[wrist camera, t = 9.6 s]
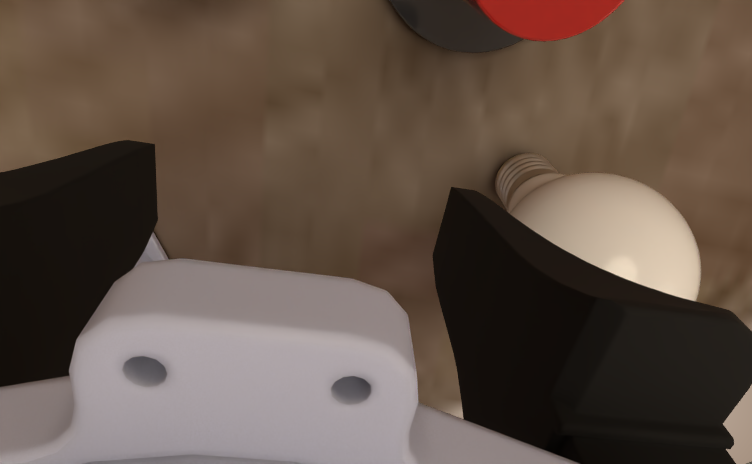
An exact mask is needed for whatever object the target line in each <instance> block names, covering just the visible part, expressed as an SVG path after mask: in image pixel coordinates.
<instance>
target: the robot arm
mask: <svg viewBox="0 0 752 464" xmlns="http://www.w3.org/2000/svg"><path fill="white" fill-rule="evenodd" d="M157 220H158V216H157V190H156V163H155V144H150V143H143V142H136V141H130V140H125V141H118V142H113V143H109V144H105V145H102V146H98V147H95V148H92V149H88V150H85V151H81V152H78V153H75V154H71V155H68V156H65V157H61V158H58V159H54V160H50V161H46V162H42V163H39V164H35V165H31V166H27V167H23V168H19V169H15V170H11V171H6V172H1V173H0V464H736V463H735V462H734V460H733V459H732V458H731V456H730V455H729V453H728V452H727V451H726V449H731V447H732V446H733V445H734V439H733V437H732V436H731V435H730V433H729V432H728V431H727V429H726V428H725V427H724V426H723V422H724V421H725V420H726V418H727V417H728V416H729V414H730V413H731V412H732V410H733V409H734V407H735V406H736V405H737V404H738V402H739V401H740V400H741V398H742V397H743V396H744V395H745V393H746V392H747V391H748V389H749V388H750V386H751V384H752V331H751V330H750V329H749V328H748V327H747V326H746V325H745V324H744V323H743V322H742V321H741V320H740V319H739V318H738V317H737V316H736V315H735V314H734V313H733V312H731V311H729V310H726V309H722V308H719V307H715V306H711V305H707V304H703V303H700V302H696V301H692V300H688V299H684V298H681V297H677V296H674V295H670V294H667V293H664V292H661V291H658V290H655V289H652V288H649V287H646V286H643V285H641V284H638V283H635V282H633V281H630V280H627V279H625V278H622V277H620V276H618V275H615V274H613V273H611V272H608V271H606V270H603V269H601V268H599V267H597V266H595V265H592V264H590V263H588V262H586V261H584V260H582V259H580V258H579V257H577V256H575V255H573V254H571V253H569V252H567V251H565V250H564V249H562V248H560V247H558V246H557V245H555V244H553V243H552V242H550V241H549V240H547V239H546V238H544V237H542V236H541V235H539V234H538V233H536V232H535V231H533V230H532V229H530V228H529V227H527V226H526V225H525V224H523V223H522V222H520V221H519V220H518V219H516V218H515V217H513V216H512V215H511V214H509V213H508V212H507V211H505V210H504V209H503V208H501V207H500V206H498V205H497V204H496V203H494V202H493V201H492V200H490V199H489V198H487V197H486V196H484V195H483V194H481V193H479V192H477V191H475V190H468V189H461V188H454V187H451V190H450V194H449V198H448V201H447V205H446V208H445V212H444V216H443V219H442V223H441V227H440V230H439V234H438V238H437V241H436V245H435V248H434V252H433V264H434V275H435V284H436V289H437V293H438V297H439V301H440V305H441V308H442V312H443V316H444V319H445V323H446V327H447V330H448V334H449V338H450V342H451V345H452V349H453V353H454V357H455V362H456V366H457V372H458V379H459V386H460V393H461V400H462V409H463V417H464V419H461V418H458V417H456V416H453V415H451V414H448V413H445V412H443V411H440V410H437V409H435V408H432V407H429V406H427V405H424V404H422V403H419V402H418V387H417V372H416V366H415V359H414V352H413V346H412V339H411V332H410V326H409V319H408V314H407V313H406V312H405V311H404V310H403V308H402V307H401V306H400V305H399V304H398V303H397V302H396V300H395V299H394V298H393V297H392V296H391V295H390V294H389V292H388V291H386V290H384V289H381V288H378V287H375V286H372V285H369V284H366V283H364V282H361V281H358V280H355V279H352V278H344V277H336V276H328V275H319V274H311V273H302V272H294V271H286V270H277V269H269V268H260V267H252V266H243V265H235V264H227V263H218V262H210V261H201V260H193V259H185V258H180V259H170V260H169V259H168V257H167V255H166V253H165V252H164V250H163V248H162V246H161V245H160V243H159V241H158V239H157V237H156V236H155V234H154V232H153V230H154V228H155V225H156V223H157ZM747 464H752V462H749V463H747Z"/></svg>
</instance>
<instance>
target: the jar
mask: <svg viewBox="0 0 752 464" xmlns="http://www.w3.org/2000/svg"><path fill="white" fill-rule="evenodd" d="M461 1H463V2H465V3H466V4H468V5H470V6H472V7H473V8H474V9H475V10H476V11H477V13H478V14H479V15H480V16H482V17H483V18H484V19H486V20H487V21H488V22H490V23H492V24H493V25H495V26H497V27H498V28H500V29H502V30H504V31H506V32H507V33H509V34H511V35H514V36H516V37H519V38H522V39H526V40H531V41H543V42H545V41H557V40H561V39H566V38H569V37H572V36H575V35H578V34H580V33H582V32H584V31H586V30H588V29H590V28H592V27H594V26H595V25H597V24H598V23H600V22H601V21H603V20H604V19H605V18H606V17H608V16H609V15H610V14H611V13H613V12H614V11H615V10H616V9H617V8H618V7H619V6H620V5H621V4H622V3H623V1H624V0H461Z"/></svg>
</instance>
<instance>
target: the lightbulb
mask: <svg viewBox="0 0 752 464" xmlns="http://www.w3.org/2000/svg"><path fill="white" fill-rule="evenodd" d="M495 188H496V192H497V194H498V196H499V198H500V200H501V201H502V203H503V204H504V206H505V208H506V209H507V212H508V213H509V214H511V215H512V216H513V217H515V218H516V219H518V220H519V221H520V222H522V223H523V224H525V225H526V226H527V227H529V228H530V229H532V230H533V231H535V232H536V233H538V234H539V235H541V236H542V237H544V238H546V239H547V240H549V241H550V242H552V243H553V244H555V245H557V246H558V247H560V248H562V249H564V250H565V251H567V252H569V253H571V254H573V255H575V256H577V257H579V258H580V259H582V260H584V261H586V262H588V263H590V264H592V265H595V266H597V267H599V268H601V269H603V270H606V271H608V272H611V273H613V274H615V275H618V276H620V277H622V278H625V279H627V280H630V281H633V282H635V283H638V284H641V285H643V286H646V287H649V288H652V289H655V290H658V291H661V292H664V293H667V294H670V295H674V296H677V297H681V298H684V299H688V300H692V301H696V300H697V297H698V293H699V289H700V283H701V260H700V254H699V250H698V246H697V243H696V240H695V238H694V235H693V233H692V231H691V229H690V227H689V225H688V223H687V222H686V220H685V219H684V217H683V216H682V215H681V213H680V212H679V211H678V210H677V208H676V207H675V206H674V205H673V204H672V203H671V202H670V201H669V200H667V199H666V198H665V197H664V196H663V195H661V194H660V193H659V192H657V191H656V190H654V189H652V188H651V187H649V186H647V185H645V184H643V183H641V182H639V181H637V180H634V179H631V178H628V177H625V176H621V175H617V174H611V173H603V172H585V173H576V174H571V175H564V174H560V173H559V172H558V171H557V170H556V169H555V168H554V167H553V165H552V164H551V163H550V162H549V161H548V160H547V159H546V158H545V157H543V156H541V155H539V154H535V153H523V154H519V155H516V156H514V157H512V158H511V159H509V160H508V161H507V162H505V163H504V164H503V166H502V167H501V168H500V170H499V171H498V173H497V176H496V180H495Z"/></svg>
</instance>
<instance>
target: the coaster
mask: <svg viewBox="0 0 752 464" xmlns="http://www.w3.org/2000/svg"><path fill="white" fill-rule="evenodd" d="M390 2H391V3H392V5H393V7H394V8H395V10H396V11H397V13H398V14H399V15H400V16H401V18H402V19H403V20H404V21H405V23H406V24H407V25H409V26H410V27H411V28H412V29H413V30H414V31H415V32H416V33H417V34H419V35H420V36H422V37H423V38H424V39H426V40H428V41H430V42H432V43H433V44H435V45H437V46H440V47H443V48H446V49H449V50H453V51H458V52H466V53H481V52H490V51H494V50H499V49H502V48H505V47H508V46H511V45H513V44H515V43H517V42H519V41H521V40H523V39H522V38H519V37H516V36H514V35H511V34H509V33H507V32H506V31H504V30H502V29H500V28H498V27H497V26H495V25H493V24H492V23H490V22H488V21H487V20H486V19H484V18H483V17H482V16H480V15H479V14H478V13H477V11H476V10H475V9H474V8H473V7H472V6H470V5H468V4H466V3H465V2H463V1H461V0H390Z"/></svg>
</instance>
